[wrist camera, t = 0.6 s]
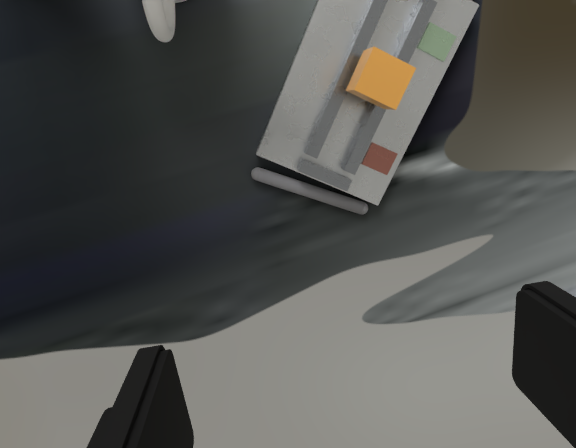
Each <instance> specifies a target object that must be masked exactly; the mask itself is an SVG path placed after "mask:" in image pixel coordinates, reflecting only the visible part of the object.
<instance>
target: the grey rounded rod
mask: <svg viewBox="0 0 576 448" xmlns="http://www.w3.org/2000/svg"><path fill="white" fill-rule="evenodd" d="M251 176H252V178H253V179H254V180H256V181H259V182H262V183H265V184H269V185H272V186H275V187H278V188H281V189H284V190H287V191H290V192H293V193H296V194H299V195H302V196H305V197H308V198H312V199H315V200H318V201H321V202H324V203H327V204H330V205H333V206H336V207H339V208H342V209H345V210H348V211H351V212H354V213H358V214H365V213H366V212H367V211H368V205H367V204H366V203H365V202H362V201H359V200H356V199H353V198H350V197H347V196H344V195H341V194H338V193H335V192H332V191H329V190H326V189H323V188H320V187H317V186H314V185H311V184H308V183H305V182H302V181H299V180H296V179H293V178H290V177H287V176H284V175H281V174H278V173H275V172H272V171H269V170H266V169H263V168H260V167H256V168H254V169H253V170H252V172H251Z"/></svg>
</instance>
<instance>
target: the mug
mask: <svg viewBox="0 0 576 448" xmlns="http://www.w3.org/2000/svg"><path fill="white" fill-rule="evenodd" d="M183 1H187V0H142V3H143V7H144V11H145V15H146V18H147V21H148V24H149V27H150V29H151V31H152V33H153V34H154V36H155V37H156V38H157V39H158V40H159V41H161V42H165V43H166V42H169V41H170V40H171V39H172V38H173V36H174V32H175V3H179V2H183Z"/></svg>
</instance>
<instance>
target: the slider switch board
mask: <svg viewBox="0 0 576 448" xmlns="http://www.w3.org/2000/svg"><path fill="white" fill-rule="evenodd" d="M478 6H479V4H477V3H475V2H473V1H472V0H317V2H316V4H315V7H314V9H313V12H312V14H311V17H310V19H309V22H308V24H307V27H306V29H305V32H304V34H303V37H302V39H301V41H300V44H299V46H298V49H297V51H296V54H295V56H294V59H293V61H292V64H291V66H290V69H289V71H288V74H287V76H286V78H285V81H284V83H283V86H282V88H281V91H280V93H279V96H278V98H277V101H276V103H275V106H274V108H273V111H272V113H271V115H270V118H269V120H268V123H267V125H266V128H265V130H264V133H263V135H262V138H261V140H260V143H259V145H258V148H257V150H256V155H258V156H260V157H263V158H265V159H267V160H270V161H272V162H275V163H277V164H279V165H282V166H284V167H287V168H289V169H291V170H294V171H296V172H298V173H301V174H303V175H306V176H308V177H310V178H313V179H315V180H318V181H320V182H322V183H325V184H327V185H330V186H332V187H334V188H337V189H339V190H341V191H344V192H346V193H349V194H351V195H353V196H356V197H358V198H361V199H363V200H365V201H368V202H370V203H373V204H375V205H377V206H378V205H379V203H380V201H381V199H382V197H383V195H384V193H385V191H386V189H387V187H388V185H389V183H390V181H391V179H392V177H393V175H394V173H395V171H396V169H397V167H398V165H399V163H400V161H401V159H402V157H403V155H404V153H405V151H406V149H407V147H408V145H409V143H410V141H411V139H412V137H413V135H414V133H415V131H416V129H417V127H418V125H419V123H420V121H421V119H422V117H423V115H424V114H425V112H426V110H427V108H428V106H429V104H430V102H431V100H432V98H433V96H434V94H435V92H436V90H437V88H438V86H439V84H440V82H441V80H442V78H443V76H444V74H445V72H446V70H447V68H448V66H449V64H450V62H451V60H452V58H453V56H454V54H455V52H456V50H457V48H458V46H459V44H460V42H461V40H462V38H463V36H464V34H465V32H466V30H467V28H468V26H469V24H470V22H471V20H472V18H473V16H474V14H475V12H476V10H477V8H478ZM371 47H376V48H378V49H380V50H382V51H384V52H386V53H388V54H390V55H392V56H394V57H396V58H398V59H400V60H402V61H404V62H406V63H407V64H409V65H411V66H413V67H415V68H416V70H415V72H414V74H413V76H412V78H411V80H410V82H409V84H408V86H407V88H406V90H405V93H404V95H403V97H402V99H401V101H400V103H399V105H398V107H397V109H396V110H388V109H383V108H381V107H379V106H376V105H374V104H372V103H370V102H368V101H366V100H364V99H362V98H360V97H358V96H356V95H354V94H351V93H349V92H347V91H346V89H347V86H348V84H349V82H350V80H351V77H352V75H353V73H354V71H355V68H356V66H357V64H358V62H359V59H360V57H361V55H362V53H363V51H364V50H366V49H369V48H371Z"/></svg>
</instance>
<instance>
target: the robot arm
mask: <svg viewBox="0 0 576 448" xmlns="http://www.w3.org/2000/svg"><path fill="white" fill-rule="evenodd" d="M514 329H515V330H514V346H513V365H512V376H513V379H514V382H515V384H516V386H517V387H518V388H519V389H520V390H521V391H522V392H523V393H524V394H525V395H526V397H527V398H528V399H529V400H530V401H531V402H532V403H533V404H534V405H535V406H536V407H537V408H538V409H539V410H540V411H541V413H542V414H543V415H544V416H545V417H546V418H547V419H548V420H549V421H550V422H551V423H552V424H553V425H554V426H555V427H556V428H557V430H558V431H559V432H560V433H561V434H562V435H563V436H564V437H565V438H566V439H567V440H568V441H569V442H570V444H571V445H572V446H573V447H574V448H576V297H574V296H572V295H571V294H569V293H567V292H566V291H564V290H562V289H561V288H559V287H557V286H556V285H554V284H552V283H551V282H548V281H543V282H537V283H531V284H525V285H524V286H523V287H522V288H521V291H519V292H518V293H517V296H516V311H515V328H514ZM193 444H194V436H193V429H192V425H191V421H190V418H189V414H188V410H187V406H186V402H185V399H184V395H183V391H182V387H181V383H180V379H179V376H178V372H177V368H176V364H175V360H174V356H173V353H172V351H171V350H170V349H169V350H165V349H164V347H163V346H162V345H159V346H153V347H147V348H141V349H139V350H138V352H137V354H136V356H135V358H134V360H133V363H132V365H131V367H130V370H129V372H128V374H127V376H126V378H125V381H124V383H123V385H122V387H121V389H120V392H119V394H118V396H117V398H116V401H115V403H114V405H113V407H111V408H108V409H106V410H105V411H104V413H103V415H102V417H101V419H100V421H99V423H98V425H97V427H96V429H95V431H94V433H93V436H92V438H91V440H90V442H89V444H88V446H87V448H193Z"/></svg>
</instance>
